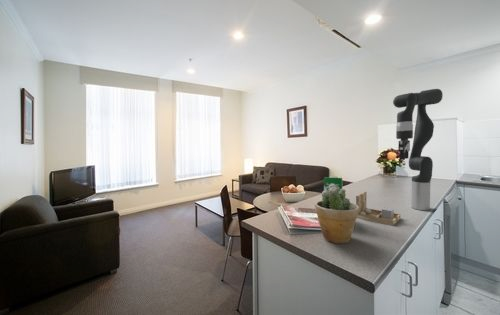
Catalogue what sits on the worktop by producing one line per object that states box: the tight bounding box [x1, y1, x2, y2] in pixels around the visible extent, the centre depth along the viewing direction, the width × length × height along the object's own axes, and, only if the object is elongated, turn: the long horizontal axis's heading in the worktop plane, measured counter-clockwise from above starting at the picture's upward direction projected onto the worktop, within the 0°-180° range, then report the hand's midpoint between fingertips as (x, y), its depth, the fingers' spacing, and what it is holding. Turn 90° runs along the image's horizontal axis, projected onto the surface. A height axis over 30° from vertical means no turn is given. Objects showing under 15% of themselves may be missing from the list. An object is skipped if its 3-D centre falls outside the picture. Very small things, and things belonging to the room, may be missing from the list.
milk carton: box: [323, 175, 343, 191], centre depth 119 cm, size 9×9×25 cm
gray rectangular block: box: [381, 207, 395, 220], centre depth 116 cm, size 4×4×6 cm
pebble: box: [365, 207, 371, 214], centre depth 127 cm, size 3×3×3 cm
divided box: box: [355, 191, 401, 227], centre depth 119 cm, size 14×18×13 cm
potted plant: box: [314, 184, 359, 244], centre depth 97 cm, size 18×19×25 cm
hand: (404, 159), depth 120 cm, fingers open, 8 cm apart
